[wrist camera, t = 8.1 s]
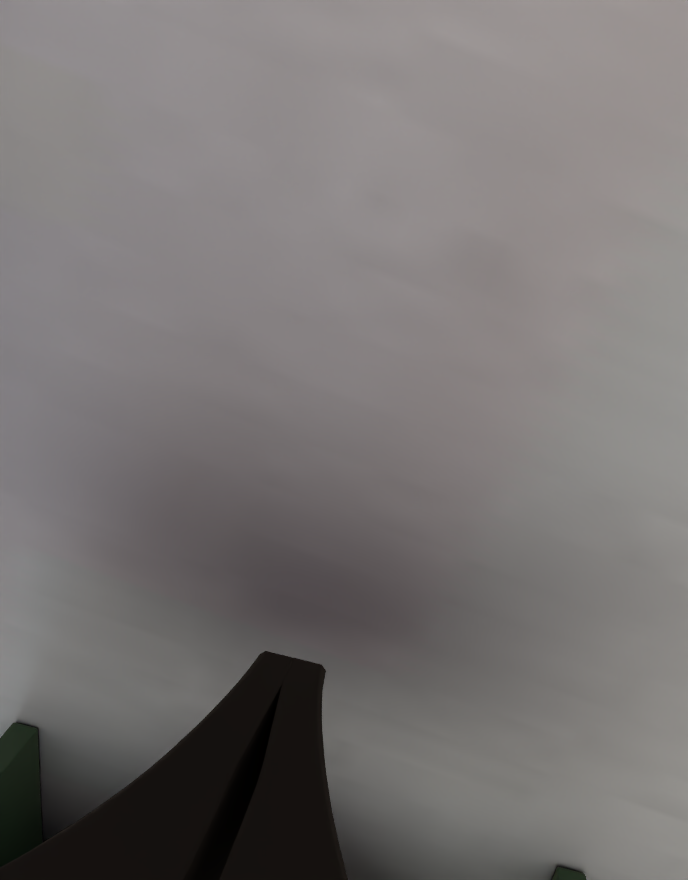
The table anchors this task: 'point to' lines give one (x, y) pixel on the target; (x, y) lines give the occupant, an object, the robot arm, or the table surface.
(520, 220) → the table surface
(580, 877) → the cabinet
